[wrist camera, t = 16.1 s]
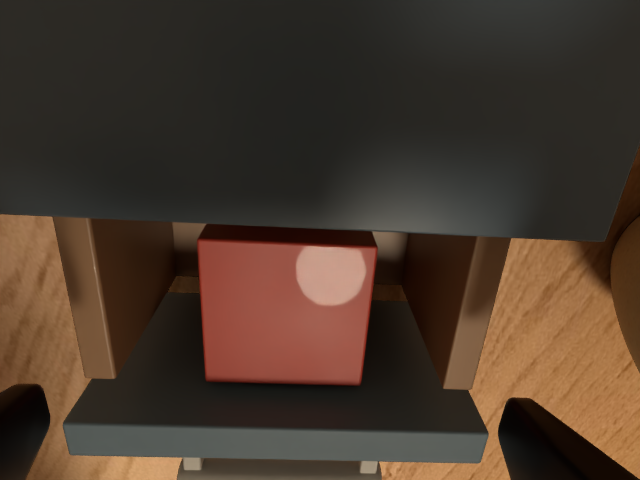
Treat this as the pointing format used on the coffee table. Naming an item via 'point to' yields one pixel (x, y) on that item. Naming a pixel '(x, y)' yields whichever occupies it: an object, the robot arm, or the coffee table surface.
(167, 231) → the drawer
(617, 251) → the bowl
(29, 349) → the coffee table surface
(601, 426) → the coffee table surface
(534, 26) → the cabinet
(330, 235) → the block
